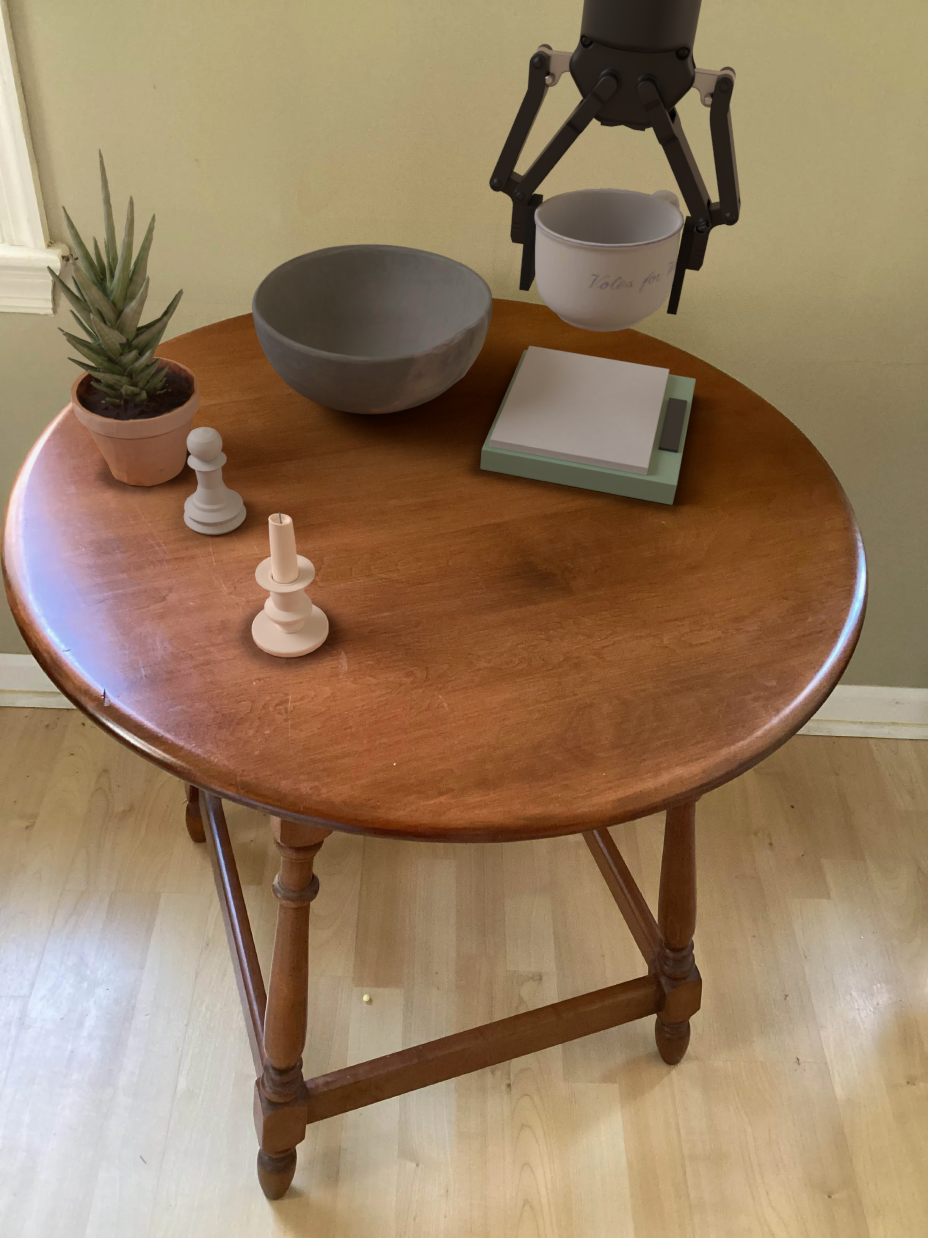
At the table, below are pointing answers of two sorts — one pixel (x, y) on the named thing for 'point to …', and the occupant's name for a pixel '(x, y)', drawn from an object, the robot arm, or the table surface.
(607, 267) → the teacup
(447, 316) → the bowl
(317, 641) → the candle
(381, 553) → the table surface
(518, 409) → the scale
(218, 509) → the chess piece
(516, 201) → the robot arm
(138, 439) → the potted plant
